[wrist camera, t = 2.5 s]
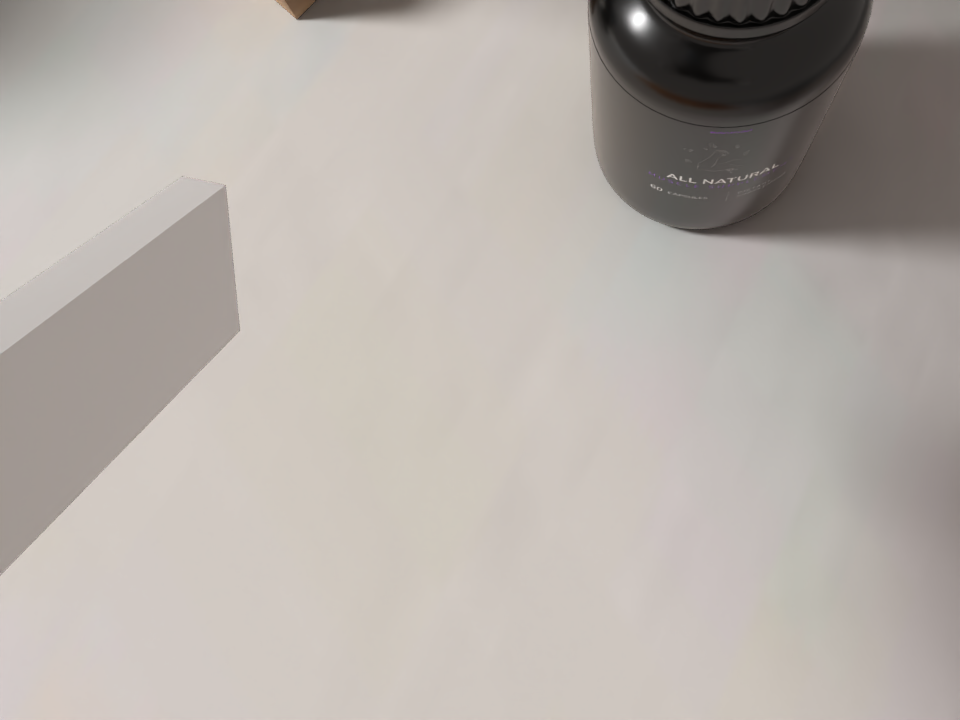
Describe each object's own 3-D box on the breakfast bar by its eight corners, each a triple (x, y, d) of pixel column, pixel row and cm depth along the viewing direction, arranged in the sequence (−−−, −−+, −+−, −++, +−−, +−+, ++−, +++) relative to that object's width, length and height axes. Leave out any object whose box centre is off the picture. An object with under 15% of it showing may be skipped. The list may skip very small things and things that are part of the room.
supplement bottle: (686, 277, 29) (725, 104, 18) (553, 131, 31) (509, -116, 19) (853, 144, 29) (1001, -118, 18) (711, 4, 31) (761, -318, 19)
